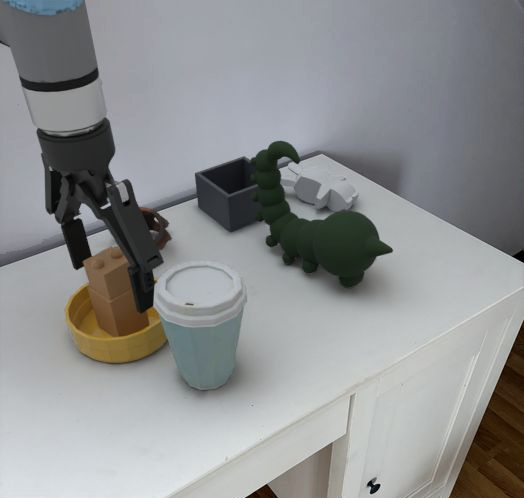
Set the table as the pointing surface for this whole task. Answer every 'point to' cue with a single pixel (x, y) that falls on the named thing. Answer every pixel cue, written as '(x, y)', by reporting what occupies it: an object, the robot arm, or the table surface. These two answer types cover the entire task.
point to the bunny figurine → (320, 187)
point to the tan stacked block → (113, 293)
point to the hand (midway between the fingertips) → (114, 285)
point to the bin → (228, 193)
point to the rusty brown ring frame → (157, 226)
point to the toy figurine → (313, 226)
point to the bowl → (103, 344)
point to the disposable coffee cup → (202, 319)
